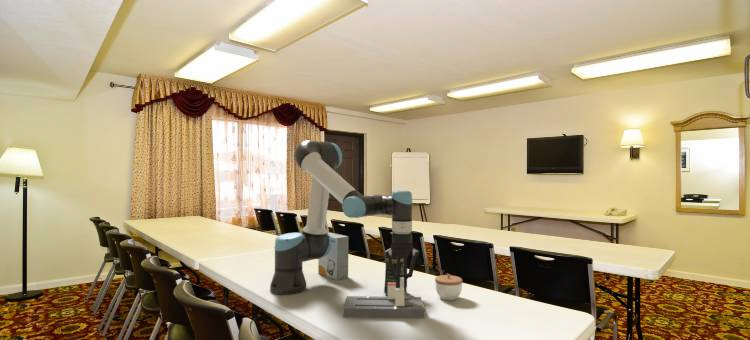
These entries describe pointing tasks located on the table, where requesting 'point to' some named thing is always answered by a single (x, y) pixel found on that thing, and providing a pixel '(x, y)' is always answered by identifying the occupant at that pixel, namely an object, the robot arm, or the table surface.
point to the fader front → (399, 297)
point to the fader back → (391, 290)
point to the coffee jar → (388, 271)
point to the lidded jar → (448, 286)
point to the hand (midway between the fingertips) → (401, 295)
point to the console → (383, 307)
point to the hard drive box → (335, 258)
